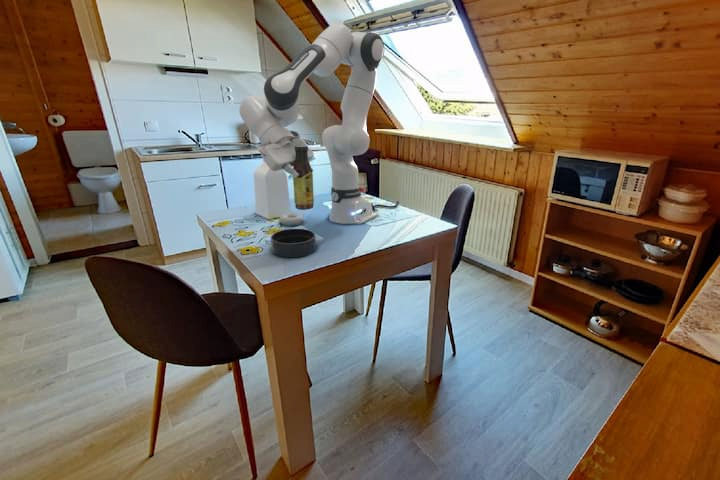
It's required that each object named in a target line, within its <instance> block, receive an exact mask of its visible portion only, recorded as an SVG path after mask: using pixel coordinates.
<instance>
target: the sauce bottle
mask: <svg viewBox="0 0 720 480" xmlns="http://www.w3.org/2000/svg"><path fill="white" fill-rule="evenodd" d="M308 146H309V145H308ZM308 146H304V145H302V146H295V152H296V163H295V164H294V166H293V167H292V168H293V169H294V170H297V171H298V172H299V173H300V176H299V177H298V178H294V177H293V176H292V181H293V183H292V184H293V198H294V200H293V201H294V205H295V208H296V209H297V210H301V211H306V210H307V211H308V210H311V209H313V208H314V204H315V198H314V197H315V196H314V175H313V172H314V171H313V172H312V169H313V168H312V166H311V163H310V164H309V161H308V153H307V151H308ZM311 168H312V169H311Z"/></svg>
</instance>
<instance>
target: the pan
mask: <svg viewBox="0 0 720 480" xmlns="http://www.w3.org/2000/svg"><path fill="white" fill-rule="evenodd" d="M316 241H317V240H316V233H315V231H313V230H310V229H306V228H287V229H282V230H278V231H276V232H273V234H272V235H271V236H270V243H271V244H270V245H271V252H272V254H274V255H276V256H278V257H282V258H300V257H304V256H308V255H310V254H312V253H314V252H315V251H316V248H317V245H316V244H317V242H316Z"/></svg>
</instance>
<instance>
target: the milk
mask: <svg viewBox="0 0 720 480" xmlns="http://www.w3.org/2000/svg"><path fill="white" fill-rule="evenodd" d="M253 188H254V189H253V190H254V208H255V214H256V215H258V216H261V217H263V218H265V219H266V220H272V219H276V218H280V217H281V216H282V215H284V214H288V213H292V208H291V199H290V192H289V191H290V190H289V182H288V176H287V172H286V171H285V170H284V169H281V170H277V171H273V170H271V169H270V168H269V167H268V165H267V164H266V163H265V161H264V159H263V158H262V162H261V163H260V164H259V165H258V167H256V169H255V170H254V172H253Z"/></svg>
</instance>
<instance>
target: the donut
mask: <svg viewBox="0 0 720 480" xmlns="http://www.w3.org/2000/svg"><path fill="white" fill-rule="evenodd" d="M278 220H279V224H281V225H283V226H287V227H295V226H298V225H301V224H302V223H303V222H304V216H303V215H302V214H301V213H295V212H291V213H288V214H284V215H282V216H281V217H279V219H278Z"/></svg>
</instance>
